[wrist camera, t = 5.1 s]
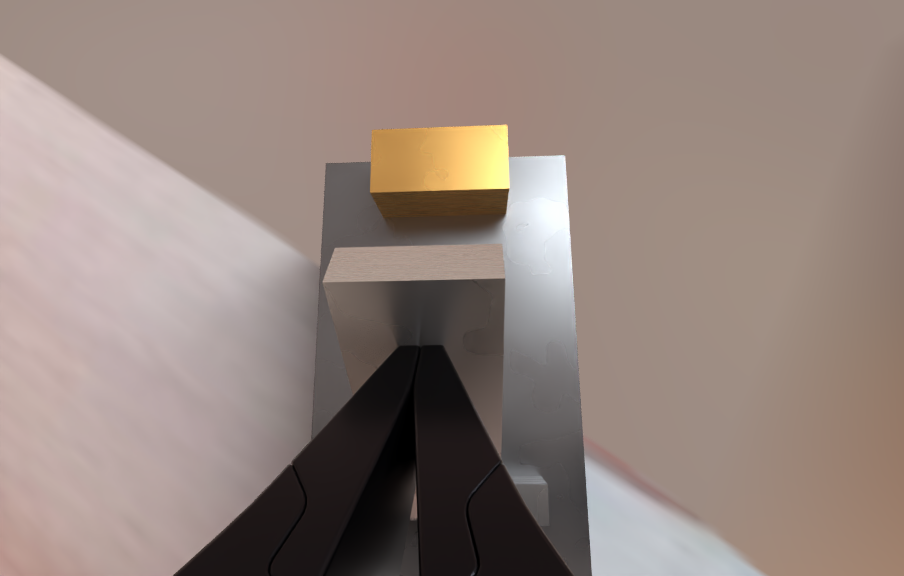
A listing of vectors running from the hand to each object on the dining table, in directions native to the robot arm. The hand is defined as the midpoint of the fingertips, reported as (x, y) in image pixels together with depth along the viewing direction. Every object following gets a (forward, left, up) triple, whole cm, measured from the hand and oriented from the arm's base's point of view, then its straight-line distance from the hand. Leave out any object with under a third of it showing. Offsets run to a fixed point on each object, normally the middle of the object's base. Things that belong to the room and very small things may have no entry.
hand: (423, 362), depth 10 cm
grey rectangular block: (0, 0, -11) cm, 11 cm away
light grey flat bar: (0, 0, -2) cm, 2 cm away
